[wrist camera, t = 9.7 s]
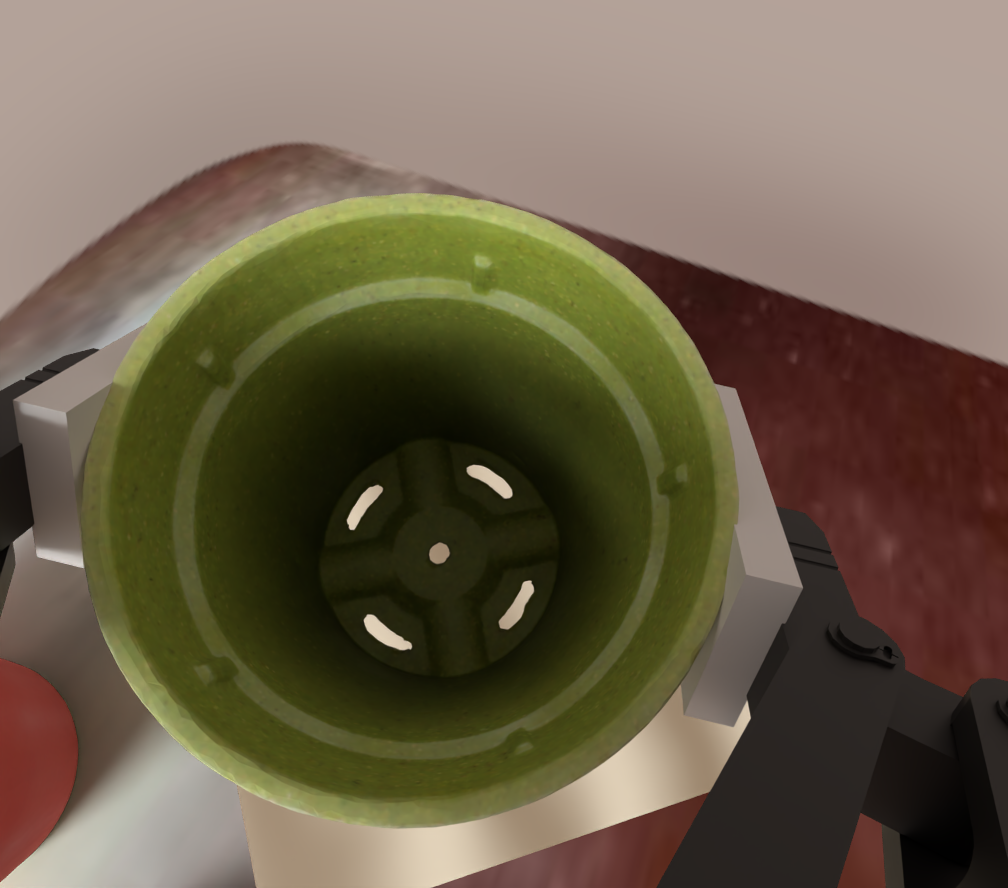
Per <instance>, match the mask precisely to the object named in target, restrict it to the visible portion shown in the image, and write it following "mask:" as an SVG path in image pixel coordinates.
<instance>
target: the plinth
mask: <svg viewBox="0 0 1008 888" xmlns="http://www.w3.org/2000/svg"><path fill="white" fill-rule="evenodd" d="M467 472H468V474H469V475H470V476H472V477H474V478H477V479H479V480H481V481H483V482H485V483H487V484H488V485H489V486H490V487H492V488H493V489H494V490H495V491H496V492H498V493H499V494H500V495H501V496H502V497H504V498H510V497H511V496H512V489H511V488H510V486H509V485H508V484H507V483H506V482H505V480H504V479H503V478H501V477H499V476H498V475H496V474H495V473H493V472H492V471H491V470H490V469H488V468H486V467H483V466H480V465H472V466H469V467H468V468H467ZM382 490H383V488H382V487H381V486H379V485H375V486H374V487H369V488H368V489H367V490H366V491H365V492H364V493H363V494H362V495H361V497H360V498H359V500H358V501H357V503H356V504H355V506H354V508H353V509H352V511H351V513H350V515H349V517H348V519H347V522H348V525H349V528H350V530H354V529H355V528H356V526H357V524H358V523H359V521H360V518H361V517H362V516H363V514H364V513H365V511H366V509H367V508H368V507H369V506H370V505H371V504H372V503H373V502H374V500H376V499H377V497H378V496H379V495H380V494H381V492H382ZM449 554H450V552H449V549H448V547H447V545H445V544H443V543H440V542H439V543H438V544H436V545H434V546H433V547H432V548H431V549H430V553H429V556H430V560H431V561H432V562H434V563H436V564H440V563H443V562H445V561H446V558H447V557H448V556H449ZM531 582H532V581H526V582H524V583H523V584H522V588H521V591H520V592H519V594H518V596H517V597H516V599H515V601H514V603H513V604H512V605H511V607H510V608H509V609H508V610H507V612H506V614H505V615H504V616H503V617H502V618H501V619H500V620H499V625H500V628H503V629H509V628H511V627H512V626H513V625H514V624H515V623H516V622H517V621H518V620H519V619H520V618H521V616H522V614H523V612H524V606H525V604H526V603H527V602H528V600H529V598H530V596H531V595H532V594H533V592H534V587H533V585H532V584H531ZM364 623H365V626H366V628H367V631H368V632H369V633H371V634H372V635H373V636H374V637H375V638H376V639H377V640H379V641H380V642H382V643H384V644H385V645H388V646H391V647H394V648H397V649H399V650H406V649H411V648H412V645H411V643H410V642H408V641H407V642H406V641H404V640H403V638H402V637H400V636H398V635H396V634H395V633H394V632H392V631H390V630H389V629H388V628H387V627H386V626H385V625H383V624H382V623H381V622H380V621H379V620H378V619H377V618H376V617H375V616H374V615H367V616H366V617H365V619H364ZM750 719H751V717H750V712H749V707H748V701H747V702H746V704H745V706H744V708H743V710H742V712H741V714H740V716H739V718H738V720H737V722H736V724H735V726H734V727H730V726H726V725H722V724H718V723H714V722H709V721H705V720H701V719H697V718H693V717H689V716H685V715H684V712H683V701H682V691H681V684H680V686H679V687H678V689H677V690H676V691H675V693H674V694H673V695H672V697H671V698H670V699H669V701H668V702H667V703H666V704H665V706H664V707H663V708H662V709H661V711H660V712H659V713H658V714H657V715H656V716H655V717H654V718H653V719H652V721H651V722H650V723H649V724H648V725H647V726H646V727H645V728H644V729H643V730H642V731H641V732H640V733H639V734H638V735H637V736H636V737H634V738H633V739H632V740H631V741H630V742H629V743H628V744H627V745H626V746H624V747H623V748H622V749H621V750H620V751H618V752H617V753H616V754H615V755H613V756H612V757H611V758H609V759H608V760H607V761H605V762H604V763H603V764H601V765H600V766H598V767H597V768H595V769H594V770H592V771H591V772H589V773H588V774H586V775H585V776H583V777H581V778H580V779H578V780H576V781H575V782H573V783H571V784H569V785H568V786H566V787H564V788H562V789H560V790H558V791H556V792H555V793H553V794H551V795H549V796H547V797H545V798H542V799H540V800H538V801H536V802H533V803H531V804H528V805H525V806H523V807H520V808H517V809H514V810H511V811H508V812H505V813H502V814H498V815H495V816H491V817H488V818H484V819H481V820H476V821H471V822H466V823H460V824H454V825H448V826H441V827H431V828H403V829H393V828H380V827H372V826H362V825H353V824H347V823H342V822H337V821H331V820H327V819H322V818H318V817H314V816H310V815H306V814H302V813H298V812H295V811H292V810H289V809H287V808H284V807H282V806H279V805H276V804H273V803H272V802H270V801H267V800H265V799H262V798H260V797H258V796H256V795H254V794H252V793H250V792H248V791H246V790H245V789H243V788H242V787H240V786H238V785H237V788H238V794H239V799H240V804H241V810H242V815H243V820H244V825H245V831H246V836H247V841H248V847H249V852H250V857H251V862H252V868H253V873H254V878H255V884H256V888H432V887H435V886H438V885H440V884H443V883H446V882H449V881H452V880H455V879H458V878H461V877H464V876H467V875H469V874H472V873H475V872H478V871H481V870H484V869H487V868H490V867H493V866H496V865H498V864H501V863H504V862H507V861H510V860H513V859H516V858H519V857H522V856H525V855H527V854H530V853H533V852H536V851H539V850H542V849H545V848H548V847H551V846H554V845H556V844H559V843H562V842H565V841H568V840H571V839H574V838H577V837H580V836H583V835H585V834H588V833H591V832H594V831H597V830H600V829H603V828H606V827H609V826H612V825H614V824H617V823H620V822H623V821H626V820H629V819H632V818H635V817H638V816H641V815H643V814H646V813H649V812H652V811H655V810H658V809H661V808H664V807H667V806H670V805H672V804H675V803H678V802H681V801H684V800H687V799H690V798H693V797H696V796H699V795H701V794H704V793H707V792H710V791H711V789H712V787H713V785H714V783H715V782H716V780H717V778H718V776H719V774H720V773H721V771H722V769H723V767H724V765H725V764H726V762H727V760H728V758H729V756H730V755H731V753H732V751H733V749H734V747H735V746H736V744H737V742H738V740H739V739H740V737H741V735H742V733H743V731H744V730H745V728H746V726H747V724H748V722H749V721H750Z"/></svg>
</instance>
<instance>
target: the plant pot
mask: <svg viewBox="0 0 1008 888" xmlns="http://www.w3.org/2000/svg"><path fill="white" fill-rule="evenodd" d="M472 465H480V466H483V467H486V468H488V469H490V470H491V471H492V472H493V473H495V474H496V475H498V476H499V477H501V478H503V479H504V480H505V482H506V483H507V484H508V485H509V486H510V488H511V489H512V496H511V497H510V498H504V497H502V496H501V495H500V494H499V493H498V492H496V491H495V490H494V489H493V488H492V487H490V486H489V485H488V484H487V483H485V482H483V481H481V480H479V479H477V478H474V477H472V476H470V475H469V474H468V472H467V468H468V467H469V466H472ZM375 485H379V486H381V487H382V488H383V490H382V492H381V494H380V495H379V496H378V497H377V499H376V500H374V502H373V503H372V504H371V505H370V506H369V507H368V508H367V509H366V511H365V513H364V514H363V516H362V517H361V518H360V521H359V523H358V524H357V526H356V528H355V529H354V530H350V528H349V525H348V522H347V519H348V517H349V515H350V513H351V511H352V509H353V508H354V506H355V504H356V503H357V501H358V500H359V498H360V497H361V495H362V494H363V493H364V492H365V491H366V490H367V489H368V488H369V487H374V486H375ZM738 514H739V488H738V481H737V474H736V466H735V456H734V449H733V445H732V440H731V435H730V430H729V425H728V421H727V417H726V414H725V411H724V408H723V405H722V402H721V399H720V396H719V393H718V391H717V389H716V387H715V384H714V382H713V380H712V378H711V376H710V374H709V372H708V369H707V367H706V365H705V363H704V362H703V360H702V358H701V356H700V354H699V352H698V350H697V348H696V346H695V345H694V343H693V341H692V340H691V338H690V336H689V335H688V334H687V333H686V331H685V330H684V329H683V327H682V326H681V324H680V323H679V321H678V320H677V319H676V317H675V316H674V315H673V314H672V313H671V311H670V310H669V309H668V307H667V306H666V305H665V304H664V303H663V302H662V301H661V300H660V298H659V297H658V296H657V295H656V294H655V293H654V292H653V291H652V290H651V289H650V288H649V287H648V286H647V285H646V284H645V283H644V282H642V281H641V280H640V279H639V278H638V277H637V276H636V275H635V274H634V273H632V272H631V271H630V270H629V269H628V268H627V267H626V266H624V265H623V264H622V263H620V262H619V261H617V260H616V259H615V258H614V257H612V256H610V255H609V254H607V253H606V252H604V251H602V250H601V249H599V248H598V247H596V246H595V245H593V244H592V243H590V242H589V241H587V240H585V239H583V238H582V237H580V236H579V235H577V234H575V233H573V232H571V231H569V230H567V229H565V228H563V227H561V226H559V225H557V224H555V223H553V222H551V221H549V220H546V219H544V218H541V217H539V216H536V215H533V214H531V213H528V212H525V211H522V210H519V209H516V208H514V207H511V206H506V205H502V204H498V203H494V202H489V201H485V200H476V199H470V198H464V197H459V196H452V195H436V194H425V193H410V194H394V195H384V196H366V197H357V198H350V199H345V200H342V201H339V202H335V203H331V204H327V205H323V206H319V207H316V208H312V209H309V210H306V211H304V212H301V213H298V214H296V215H292V216H290V217H287V218H285V219H282V220H280V221H278V222H276V223H274V224H272V225H270V226H268V227H266V228H264V229H262V230H260V231H258V232H256V233H254V234H252V235H250V236H248V237H247V238H245V239H243V240H241V241H240V242H238V243H237V244H235V245H234V246H232V247H231V248H229V249H228V250H226V251H224V252H223V253H221V254H219V255H218V256H216V257H215V258H213V259H212V260H210V261H209V262H208V263H207V264H206V265H204V266H203V267H202V268H200V269H199V270H197V271H196V272H195V273H194V274H193V275H191V276H190V277H189V278H188V279H187V280H186V281H185V282H184V283H183V284H182V285H181V286H180V287H179V288H178V289H177V290H176V291H175V292H174V293H173V294H172V295H171V296H170V297H169V299H168V300H167V301H166V302H165V303H164V304H163V305H162V306H161V307H160V308H159V309H158V311H157V312H156V313H155V315H154V316H153V317H152V318H151V319H150V321H149V322H148V323H147V325H146V326H145V327H144V328H143V329H142V330H141V332H140V333H139V334H138V336H137V337H136V339H135V340H134V342H133V343H132V345H131V347H130V349H129V350H128V352H127V354H126V355H125V357H124V359H123V360H122V362H121V364H120V366H119V367H118V369H117V371H116V373H115V376H114V378H113V383H112V385H111V388H110V391H109V393H108V396H107V398H106V400H105V403H104V405H103V407H102V409H101V412H100V414H99V417H98V420H97V422H96V425H95V428H94V432H93V436H92V438H91V441H90V444H89V448H88V454H87V458H86V462H85V469H84V481H83V486H82V504H81V519H80V520H81V531H82V548H83V559H84V565H85V571H86V576H87V581H88V587H89V592H90V596H91V599H92V603H93V607H94V610H95V614H96V617H97V620H98V623H99V626H100V628H101V631H102V634H103V636H104V639H105V641H106V643H107V645H108V647H109V649H110V651H111V653H112V655H113V657H114V659H115V661H116V663H117V665H118V666H119V668H120V670H121V672H122V674H123V675H124V677H125V678H126V680H127V682H128V683H129V685H130V686H131V688H132V689H133V691H134V692H135V693H136V695H137V696H138V697H139V699H140V700H141V702H142V703H143V704H144V705H145V706H146V708H147V709H148V710H149V711H150V712H151V714H152V715H153V716H154V717H155V718H156V720H157V721H158V722H159V723H160V724H161V725H162V726H163V727H164V729H165V730H166V731H167V732H168V733H169V734H170V735H171V736H172V737H173V738H174V739H175V740H176V741H177V742H178V743H180V744H181V745H182V746H183V747H184V748H185V749H186V750H187V751H188V752H189V753H190V754H192V755H193V756H194V757H195V758H197V759H198V760H199V761H201V762H202V763H203V764H205V765H206V766H207V767H209V768H210V769H212V770H213V771H215V772H216V773H218V774H220V775H221V776H223V777H224V778H226V779H228V780H230V781H232V782H234V783H235V784H237V785H238V786H240V787H242V788H243V789H245V790H246V791H248V792H250V793H252V794H254V795H256V796H258V797H260V798H262V799H265V800H267V801H270V802H272V803H273V804H276V805H279V806H282V807H284V808H287V809H289V810H292V811H295V812H298V813H302V814H306V815H310V816H314V817H318V818H322V819H327V820H331V821H337V822H342V823H347V824H353V825H362V826H372V827H380V828H393V829H403V828H431V827H441V826H448V825H454V824H460V823H466V822H471V821H476V820H481V819H484V818H488V817H491V816H495V815H498V814H502V813H505V812H508V811H511V810H514V809H517V808H520V807H523V806H525V805H528V804H531V803H533V802H536V801H538V800H540V799H542V798H545V797H547V796H549V795H551V794H553V793H555V792H556V791H558V790H560V789H562V788H564V787H566V786H568V785H569V784H571V783H573V782H575V781H576V780H578V779H580V778H581V777H583V776H585V775H586V774H588V773H589V772H591V771H592V770H594V769H595V768H597V767H598V766H600V765H601V764H603V763H604V762H605V761H607V760H608V759H609V758H611V757H612V756H613V755H615V754H616V753H617V752H618V751H620V750H621V749H622V748H623V747H624V746H626V745H627V744H628V743H629V742H630V741H631V740H632V739H633V738H634V737H636V736H637V735H638V734H639V733H640V732H641V731H642V730H643V729H644V728H645V727H646V726H647V725H648V724H649V723H650V722H651V721H652V719H653V718H654V717H655V716H656V715H657V714H658V713H659V712H660V711H661V709H662V708H663V707H664V706H665V704H666V703H667V702H668V701H669V699H670V698H671V697H672V695H673V694H674V693H675V691H676V690H677V689H678V687H679V686H680V684H681V683H682V681H683V680H684V678H685V677H686V675H687V674H688V672H689V670H690V668H691V666H692V665H693V663H694V661H695V659H696V657H697V656H698V654H699V652H700V650H701V649H702V647H703V645H704V643H705V640H706V638H707V636H708V634H709V633H710V631H711V629H712V627H713V624H714V622H715V619H716V617H717V614H718V612H719V609H720V606H721V603H722V599H723V595H724V591H725V584H726V576H727V568H728V563H729V557H730V550H731V545H732V537H733V531H734V524H736V525H737V524H738ZM439 542H440V543H443V544H445V545H447V547H448V549H449V552H450V554H449V556H448V557H447V558H446V561H445V562H443V563H440V564H436V563H434V562H432V561H431V560H430V556H429V553H430V549H431V548H432V547H433V546H434V545H436V544H438V543H439ZM526 581H532V582H531V584H532V585H533V587H534V592H533V594H532V595H531V596H530V598H529V600H528V602H527V603H526V604H525V606H524V612H523V614H522V616H521V618H520V619H519V620H518V621H517V622H516V623H515V624H514V625H513V626H512V627H511V628H509V629H503V628H500V625H499V620H500V619H501V618H502V617H503V616H504V615H505V614H506V612H507V610H508V609H509V608H510V607H511V605H512V604H513V603H514V601H515V599H516V597H517V596H518V594H519V592H520V591H521V588H522V584H523V583H524V582H526ZM367 615H374V616H375V617H376V618H377V619H378V620H379V621H380V622H381V623H382V624H383V625H385V626H386V627H387V628H388V629H389V630H390V631H392V632H394V633H395V634H396V635H398V636H400V637H402V638H403V640H404V641H406V642H407V641H408V642H410V643H411V645H412V648H411V649H406V650H399V649H397V648H394V647H391V646H388V645H385V644H384V643H382V642H380V641H379V640H377V639H376V638H375V637H374V636H373V635H372V634H371V633H369V632H368V631H367V628H366V626H365V623H364V619H365V617H366V616H367Z"/></svg>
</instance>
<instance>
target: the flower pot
mask: <svg viewBox="0 0 1008 888" xmlns="http://www.w3.org/2000/svg"><path fill="white" fill-rule="evenodd" d="M77 763H78V740H77V734H76V729H75V725H74V721H73V719H72V716H71V713H70V711H69V709H68V707H67V704H66V703H65V701H64V700H63V698H62V697H61V695H60V694H59V693H58V692H57V690H56V689H55V688H54V687H53V686H52V685H51V684H50V683H49V682H48V681H47V680H46V679H44V678H43V677H42V676H41V675H39V674H38V673H36V672H35V671H33V670H31V669H29V668H27V667H24V666H22V665H19V664H16V663H13V662H10V661H8V660H5V659H1V658H0V882H1V881H2V880H3V879H4V878H6V877H7V876H8V875H9V874H10V873H11V872H12V871H13V870H14V869H15V868H16V867H17V866H18V865H20V864H21V863H22V862H23V861H24V860H25V859H27V858H28V857H29V856H30V855H31V854H32V853H33V852H34V851H35V850H36V849H37V848H38V847H39V846H40V845H41V843H42V842H43V841H44V840H45V839H46V837H47V836H48V835H49V833H50V832H51V831H52V829H53V828H54V826H55V824H56V823H57V821H58V820H59V818H60V816H61V814H62V812H63V811H64V809H65V806H66V804H67V802H68V800H69V798H70V795H71V792H72V788H73V785H74V781H75V777H76V771H77Z"/></svg>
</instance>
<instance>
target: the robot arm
mask: <svg viewBox="0 0 1008 888" xmlns="http://www.w3.org/2000/svg"><path fill="white" fill-rule="evenodd" d="M146 325H147V323H146V324H144V325H143V326H141V327H139V328H137V329H136V330H134V331H132V332H130V333H129V334H127V335H125V336H123V337H122V338H120V339H118V340H117V341H115V342H113V343H111V344H110V345H108V346H106V347H104V348H103V349H101V350H99V349H94V348H93V349H89V350H85V351H81V352H77V353H74V354H70V355H66V356H63V357H61V358H60V359H58V360H56V361H54V362H52V363H50V364H49V365H47V366H45V367H43V370H42V371H41V370H38V371H36V372H34V373H32V374H30V375H29V376H27V377H25V380H19V381H18V382H16V383H14V384H12V385H10V386H8V387H7V388H5V389H3V390H1V391H0V617H1V613H2V610H3V606H4V603H5V599H6V596H7V592H8V589H9V586H10V582H11V579H12V575H13V572H14V568H15V554H14V548H13V541H14V540H16V539H17V538H18V537H19V536H21V535H22V534H23V533H24V532H26V531H27V530H28V529H29V528H31V527H32V528H33V535H34V541H35V548H36V554H37V557H40V558H44V559H48V560H52V561H56V562H60V563H64V564H68V565H72V566H76V567H80V568H85V565H84V559H83V548H82V531H81V520H80V519H81V504H82V486H83V481H84V469H85V462H86V458H87V454H88V448H89V444H90V441H91V438H92V436H93V432H94V428H95V425H96V422H97V420H98V417H99V414H100V412H101V409H102V407H103V405H104V403H105V400H106V398H107V396H108V393H109V391H110V388H111V385H112V383H113V378H114V376H115V373H116V371H117V369H118V367H119V366H120V364H121V362H122V360H123V359H124V357H125V355H126V354H127V352H128V350H129V349H130V347H131V345H132V343H133V342H134V340H135V339H136V337H137V336H138V334H139V333H140V332H141V330H142V329H143V328H144V327H145V326H146ZM715 387H716V389H717V391H718V393H719V396H720V399H721V402H722V405H723V408H724V411H725V414H726V417H727V421H728V425H729V430H730V435H731V440H732V445H733V449H734V456H735V466H736V474H737V481H738V488H739V514H738V524H737V525H736V524H734V531H733V537H732V545H731V550H730V557H729V563H728V568H727V576H726V584H725V591H724V595H723V599H722V603H721V606H720V609H719V612H718V614H717V617H716V619H715V622H714V624H713V627H712V629H711V631H710V633H709V634H708V636H707V638H706V640H705V643H704V645H703V647H702V649H701V650H700V652H699V654H698V656H697V657H696V659H695V661H694V663H693V665H692V666H691V668H690V670H689V672H688V674H687V675H686V677H685V678H684V680H683V681H682V683H681V691H682V701H683V712H684V715H685V716H689V717H693V718H697V719H701V720H705V721H709V722H714V723H718V724H722V725H726V726H730V727H734V726H735V724H736V722H737V720H738V718H739V716H740V714H741V712H742V710H743V708H744V706H745V704H746V702H747V701H748V707H749V712H750V717H751V719H750V721H749V722H748V724H747V726H746V728H745V730H744V731H743V733H742V735H741V737H740V739H739V740H738V742H737V744H736V746H735V747H734V749H733V751H732V753H731V755H730V756H729V758H728V760H727V762H726V764H725V765H724V767H723V769H722V771H721V773H720V774H719V776H718V778H717V780H716V782H715V783H714V785H713V787H712V789H711V791H710V792H709V794H708V796H707V798H706V800H705V801H704V803H703V805H702V807H701V809H700V810H699V812H698V814H697V816H696V818H695V819H694V821H693V823H692V825H691V827H690V828H689V830H688V832H687V834H686V836H685V837H684V839H683V841H682V843H681V844H680V846H679V848H678V850H677V852H676V853H675V855H674V857H673V859H672V861H671V862H670V864H669V866H668V868H667V870H666V871H665V873H664V875H663V877H662V879H661V880H660V882H659V884H658V886H657V888H837V886H838V883H839V880H840V876H841V873H842V870H843V867H844V864H845V860H846V857H847V854H848V851H849V848H850V844H851V841H852V838H853V835H854V832H855V829H856V825H857V822H858V819H859V816H860V813H862V814H864V815H866V816H868V817H870V818H872V819H874V820H876V821H878V822H879V823H881V824H882V838H883V852H884V867H885V882H886V888H1008V682H1007V681H1004V680H1000V679H996V678H993V679H980V680H978V681H977V682H975V683H974V684H973V685H971V687H970V688H969V690H968V691H967V692H966V694H965V695H964V697H961V696H959V695H957V694H955V693H952V692H950V691H948V690H946V689H943V688H941V687H939V686H937V685H935V684H932V683H930V682H928V681H926V680H924V679H921V678H920V677H918V676H916V675H914V674H912V673H910V672H908V671H906V670H905V657H904V656H903V654H902V652H901V651H900V649H899V647H898V645H897V644H896V643H895V642H894V641H893V640H892V639H891V638H890V637H889V636H888V635H887V634H886V633H885V632H884V631H883V630H882V629H880V628H878V627H877V626H875V625H874V624H872V623H871V622H869V621H867V620H866V619H864V618H862V617H859V616H858V613H857V611H856V608H855V606H854V604H853V601H852V599H851V597H850V594H849V592H848V589H847V587H846V585H845V582H844V580H843V577H842V575H841V573H840V571H838V566H837V563H836V561H835V558H834V556H833V555H831V552H832V551H831V549H830V547H829V544H828V542H827V539H826V537H825V535H824V532H823V531H822V530H821V529H820V528H819V527H818V526H817V525H816V524H815V523H814V522H813V521H812V520H811V519H810V518H809V517H808V516H807V515H806V514H805V513H802V512H798V511H794V510H789V509H785V508H781V507H777V506H775V504H774V501H773V498H772V495H771V492H770V489H769V486H768V483H767V480H766V477H765V474H764V471H763V468H762V465H761V462H760V459H759V456H758V453H757V450H756V447H755V444H754V442H753V439H752V436H751V433H750V430H749V427H748V424H747V421H746V418H745V415H744V412H743V409H742V406H741V403H740V400H739V397H738V394H737V391H736V389H735V388H731V387H726V386H722V385H717V384H715Z"/></svg>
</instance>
